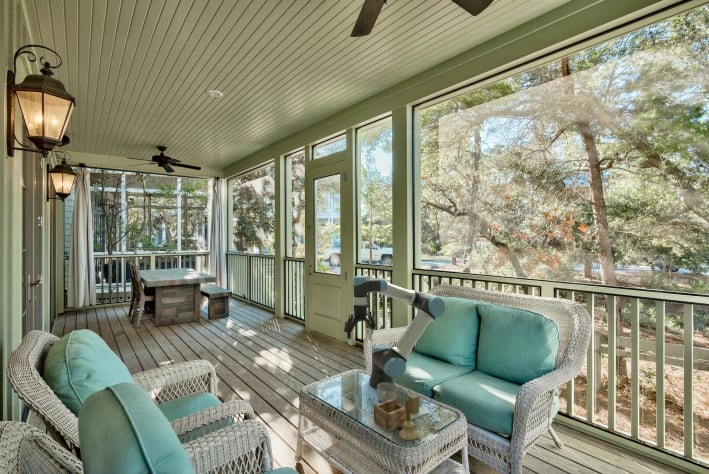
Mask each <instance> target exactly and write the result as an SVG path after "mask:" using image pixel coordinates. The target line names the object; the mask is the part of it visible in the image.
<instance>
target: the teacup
mask: <svg viewBox="0 0 709 474" xmlns="http://www.w3.org/2000/svg"><path fill="white" fill-rule="evenodd" d="M397 391H398V387H397V385H395V384H392V383H387V382H384V383H379V384H378V385H377V388H376V393H377V398H378V400H379V401H380V403H382V402H385V401H387V400H390V399H393V398H397Z"/></svg>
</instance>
